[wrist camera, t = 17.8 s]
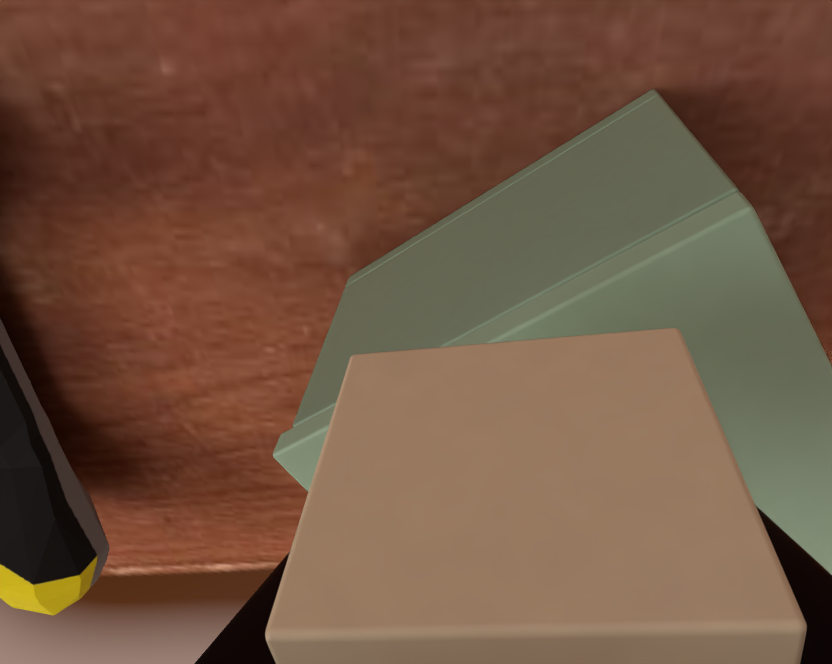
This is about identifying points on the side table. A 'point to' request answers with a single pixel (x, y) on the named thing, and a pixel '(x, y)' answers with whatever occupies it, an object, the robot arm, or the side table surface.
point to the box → (523, 239)
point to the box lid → (698, 355)
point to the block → (532, 515)
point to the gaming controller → (40, 504)
